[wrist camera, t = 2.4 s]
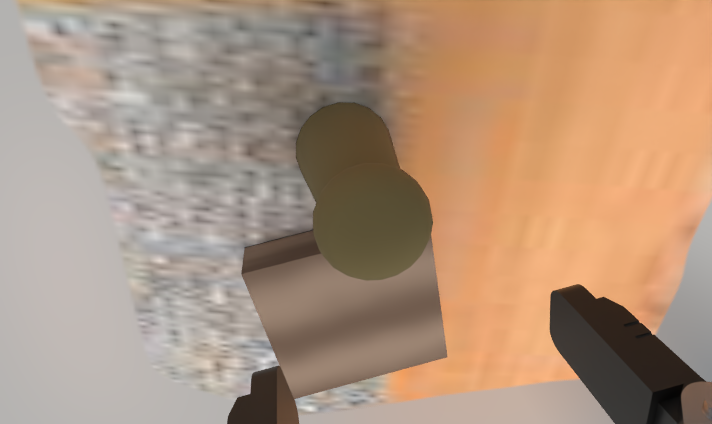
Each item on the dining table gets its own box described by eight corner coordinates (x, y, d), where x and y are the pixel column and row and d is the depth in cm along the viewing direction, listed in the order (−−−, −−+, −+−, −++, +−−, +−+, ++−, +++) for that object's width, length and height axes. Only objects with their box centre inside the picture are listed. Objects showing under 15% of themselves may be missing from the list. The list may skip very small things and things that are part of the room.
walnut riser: (244, 247, 29) (241, 274, 26) (416, 203, 29) (429, 225, 27) (292, 367, 35) (293, 399, 32) (434, 329, 35) (447, 356, 33)
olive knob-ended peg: (288, 187, 27) (294, 297, 18) (304, 93, 25) (320, 162, 15) (378, 199, 29) (428, 307, 19) (402, 111, 26) (473, 185, 17)
